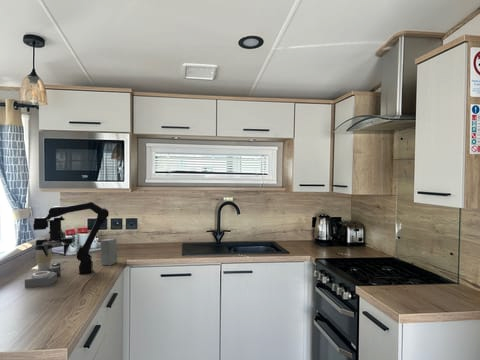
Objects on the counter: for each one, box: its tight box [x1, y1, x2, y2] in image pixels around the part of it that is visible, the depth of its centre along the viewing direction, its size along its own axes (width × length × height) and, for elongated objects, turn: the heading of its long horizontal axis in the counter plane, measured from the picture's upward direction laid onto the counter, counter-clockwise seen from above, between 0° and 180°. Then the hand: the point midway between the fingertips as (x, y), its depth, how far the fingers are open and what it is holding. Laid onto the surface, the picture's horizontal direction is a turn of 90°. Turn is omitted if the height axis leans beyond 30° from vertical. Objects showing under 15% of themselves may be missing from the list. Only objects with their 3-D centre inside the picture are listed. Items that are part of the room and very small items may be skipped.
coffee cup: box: [34, 243, 54, 272], centre depth 192 cm, size 9×9×15 cm
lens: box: [50, 262, 62, 278], centre depth 179 cm, size 5×5×7 cm
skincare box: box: [100, 238, 118, 266], centre depth 204 cm, size 8×7×16 cm
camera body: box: [24, 270, 58, 288], centre depth 167 cm, size 12×9×6 cm
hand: (56, 256), depth 179 cm, fingers open, 9 cm apart
